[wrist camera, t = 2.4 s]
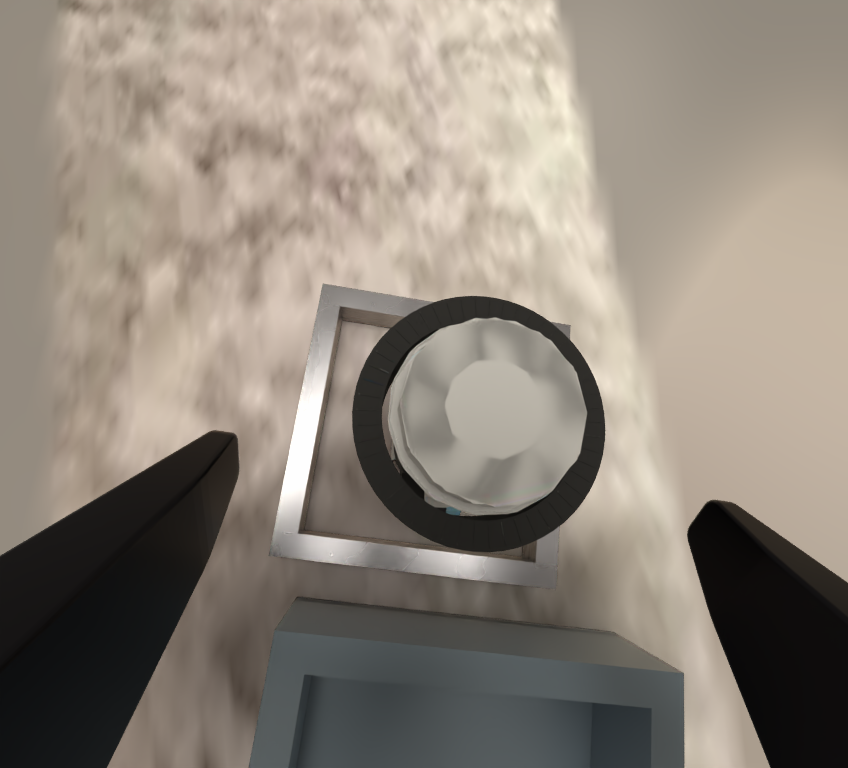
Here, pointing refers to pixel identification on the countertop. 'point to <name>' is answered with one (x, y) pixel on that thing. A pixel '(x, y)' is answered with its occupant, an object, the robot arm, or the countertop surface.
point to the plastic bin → (460, 694)
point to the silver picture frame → (291, 516)
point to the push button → (479, 424)
